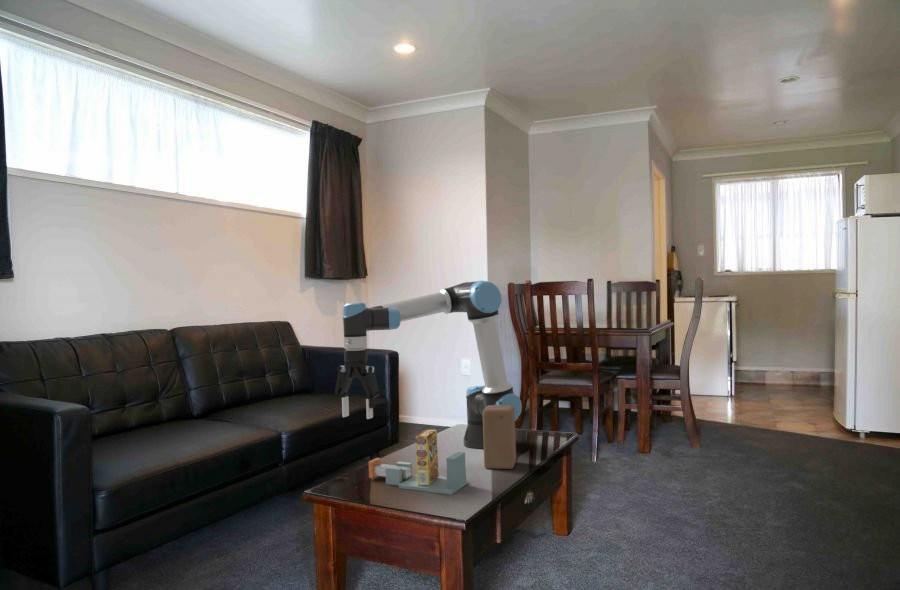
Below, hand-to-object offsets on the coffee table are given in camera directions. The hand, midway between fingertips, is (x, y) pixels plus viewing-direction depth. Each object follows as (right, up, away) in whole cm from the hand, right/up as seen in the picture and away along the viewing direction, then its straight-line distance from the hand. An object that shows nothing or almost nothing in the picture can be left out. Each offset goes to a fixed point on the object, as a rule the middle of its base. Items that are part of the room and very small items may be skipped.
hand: (357, 417), depth 200 cm
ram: (+12, -18, -6) cm, 22 cm away
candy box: (+24, -18, -12) cm, 32 cm away
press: (+23, -19, -11) cm, 32 cm away
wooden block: (+48, -18, +7) cm, 52 cm away
